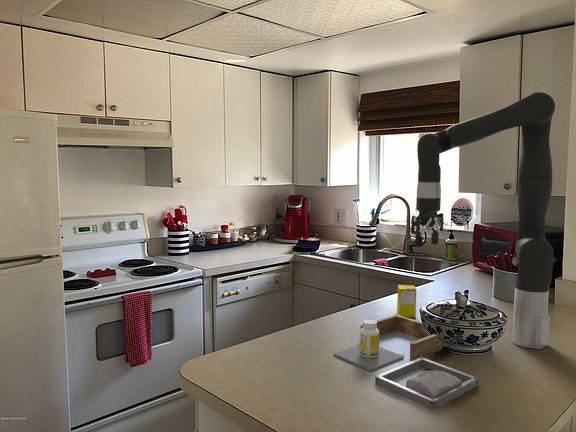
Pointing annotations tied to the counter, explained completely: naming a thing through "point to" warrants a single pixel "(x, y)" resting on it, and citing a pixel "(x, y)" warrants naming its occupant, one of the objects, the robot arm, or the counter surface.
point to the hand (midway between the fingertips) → (426, 245)
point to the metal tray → (421, 399)
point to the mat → (368, 363)
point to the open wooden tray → (414, 328)
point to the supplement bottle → (369, 339)
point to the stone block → (432, 383)
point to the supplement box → (406, 301)
